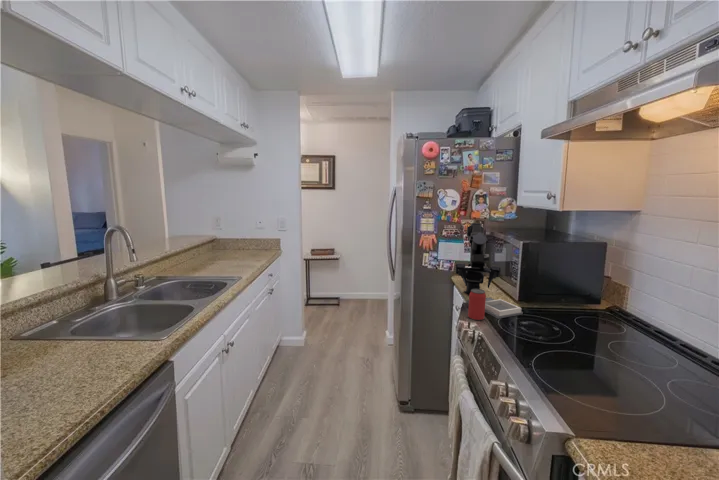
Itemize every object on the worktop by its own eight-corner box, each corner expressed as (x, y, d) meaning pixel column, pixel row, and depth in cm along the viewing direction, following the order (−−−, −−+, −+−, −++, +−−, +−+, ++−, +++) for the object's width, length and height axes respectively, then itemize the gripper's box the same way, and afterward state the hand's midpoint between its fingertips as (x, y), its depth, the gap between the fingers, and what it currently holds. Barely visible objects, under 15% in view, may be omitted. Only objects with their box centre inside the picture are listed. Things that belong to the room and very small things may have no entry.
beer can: (474, 321, 132) (476, 293, 130) (464, 315, 138) (466, 288, 136) (487, 319, 133) (489, 292, 131) (477, 313, 140) (479, 287, 138)
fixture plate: (466, 302, 153) (466, 296, 153) (489, 299, 158) (489, 293, 158) (497, 318, 135) (498, 311, 134) (522, 314, 140) (523, 307, 139)
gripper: (457, 245, 144) (455, 275, 136) (501, 248, 139) (503, 279, 130) (456, 259, 153) (454, 287, 144) (498, 262, 148) (499, 292, 139)
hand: (477, 286), depth 139 cm, fingers open, 9 cm apart
